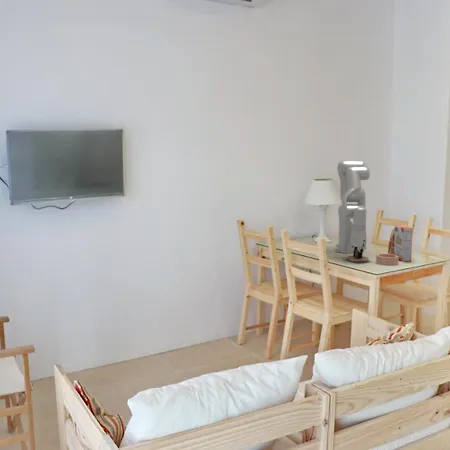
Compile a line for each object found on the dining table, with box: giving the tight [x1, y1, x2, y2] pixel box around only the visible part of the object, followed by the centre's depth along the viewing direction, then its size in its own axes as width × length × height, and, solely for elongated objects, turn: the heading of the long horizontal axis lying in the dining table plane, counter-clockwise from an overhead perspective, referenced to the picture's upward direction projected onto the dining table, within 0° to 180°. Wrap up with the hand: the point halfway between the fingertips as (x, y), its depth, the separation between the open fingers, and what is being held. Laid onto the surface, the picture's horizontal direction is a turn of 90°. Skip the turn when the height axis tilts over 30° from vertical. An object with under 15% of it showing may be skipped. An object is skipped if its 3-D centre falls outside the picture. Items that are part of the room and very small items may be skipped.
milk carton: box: [387, 227, 395, 254], centre depth 347 cm, size 9×9×20 cm
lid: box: [346, 248, 370, 262], centre depth 329 cm, size 13×13×6 cm
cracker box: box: [394, 224, 413, 263], centre depth 336 cm, size 14×6×21 cm, turn 4°
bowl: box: [375, 253, 400, 266], centre depth 324 cm, size 12×12×5 cm
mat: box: [343, 258, 373, 265], centre depth 329 cm, size 13×13×1 cm
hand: (357, 257), depth 330 cm, fingers closed on lid, 3 cm apart
